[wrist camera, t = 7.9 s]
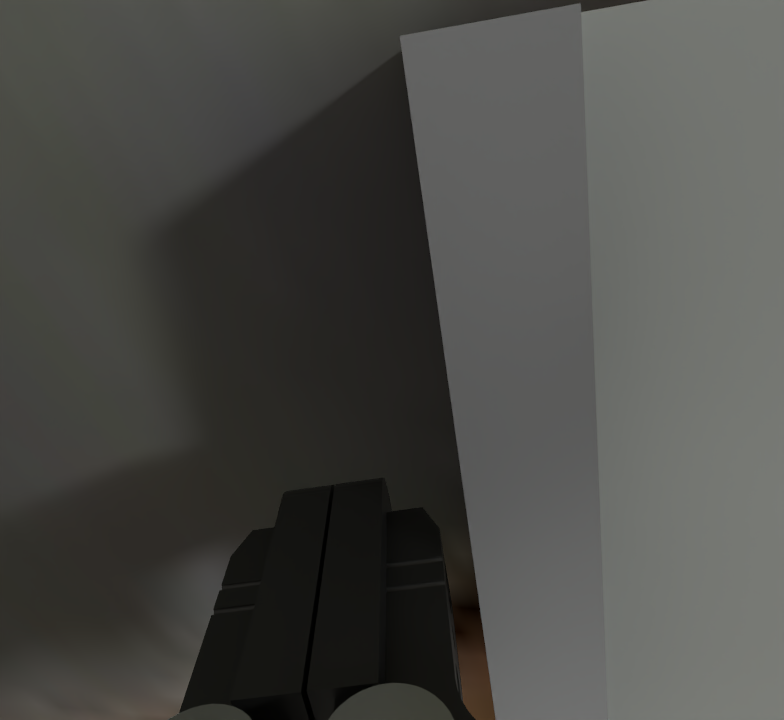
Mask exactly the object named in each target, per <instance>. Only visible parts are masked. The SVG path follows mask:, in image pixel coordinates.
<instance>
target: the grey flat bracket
mask: <svg viewBox="0 0 784 720" xmlns="http://www.w3.org/2000/svg"><path fill="white" fill-rule="evenodd" d="M400 42H401V49H402V56H403V63H404V70H405V77H406V85H407V92H408V99H409V106H410V113H411V120H412V127H413V134H414V142H415V149H416V156H417V163H418V170H419V177H420V184H421V191H422V199H423V206H424V213H425V220H426V227H427V234H428V241H429V248H430V256H431V263H432V270H433V277H434V284H435V291H436V298H437V305H438V313H439V320H440V327H441V334H442V341H443V348H444V355H445V362H446V370H447V377H448V384H449V391H450V398H451V405H452V412H453V419H454V427H455V434H456V441H457V448H458V455H459V462H460V469H461V476H462V484H463V491H464V498H465V505H466V512H467V519H468V526H469V533H470V541H471V548H472V555H473V562H474V569H475V576H476V583H477V590H478V598H479V605H480V612H481V619H482V626H483V633H484V640H485V647H486V655H487V662H488V669H489V676H490V683H491V690H492V697H493V704H494V712H495V719H496V720H784V0H646V1H640V2H635V3H629V4H624V5H618V6H613V7H607V8H602V9H596V10H590V11H585V12H581V3H578V4H573V5H567V6H562V7H556V8H551V9H545V10H540V11H534V12H529V13H523V14H518V15H512V16H506V17H501V18H495V19H490V20H484V21H479V22H473V23H468V24H462V25H457V26H451V27H446V28H440V29H435V30H429V31H424V32H418V33H412V34H407V35H401V36H400Z"/></svg>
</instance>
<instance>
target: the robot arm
mask: <svg viewBox="0 0 784 720" xmlns="http://www.w3.org/2000/svg"><path fill="white" fill-rule="evenodd" d="M168 720H475V718H474V717H473V716H472V715H471V714H470V713H469V711H468V710H467V709H466V707H465V705H464V703H463V696H462V688H461V679H460V671H459V662H458V653H457V644H456V635H455V627H454V618H453V609H452V603H451V597H450V591H449V585H448V579H447V573H446V566H445V560H444V554H443V548H442V542H441V536H440V530H439V528H438V526H437V525H436V524H435V523H434V521H433V520H432V519H431V517H430V516H429V515H428V514H427V512H426V511H425V510H424V509H423V507H422V508H414V509H407V510H399V511H392V509H391V504H390V499H389V494H388V489H387V485H386V481H385V479H384V478H379V479H372V480H365V481H357V482H350V483H343V484H336V485H335V486H334V485H329V486H322V487H315V488H308V489H300V490H293V491H286V492H285V493H284V494H283V497H282V501H281V505H280V508H279V512H278V516H277V520H276V524H275V527H274V528H266V529H259V530H253V531H252V532H251V533H250V534H249V535H248V537H247V538H246V539H245V540H244V541H243V543H242V544H241V545H240V546H239V547H238V549H237V550H236V551H235V552H234V553H233V555H232V556H231V558H230V561H229V564H228V567H227V570H226V573H225V576H224V579H223V582H222V590H220V591H219V594H218V597H217V600H216V603H215V606H214V615H211V618H210V621H209V624H208V627H207V630H206V633H205V636H204V639H203V643H202V646H201V649H200V652H199V655H198V658H197V661H196V664H195V667H194V670H193V673H192V676H191V679H190V682H189V685H188V688H187V691H186V694H185V697H184V700H183V703H182V706H181V709H180V712H179V714H177V715H175V716H173V717H171V718H170V719H168Z"/></svg>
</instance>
